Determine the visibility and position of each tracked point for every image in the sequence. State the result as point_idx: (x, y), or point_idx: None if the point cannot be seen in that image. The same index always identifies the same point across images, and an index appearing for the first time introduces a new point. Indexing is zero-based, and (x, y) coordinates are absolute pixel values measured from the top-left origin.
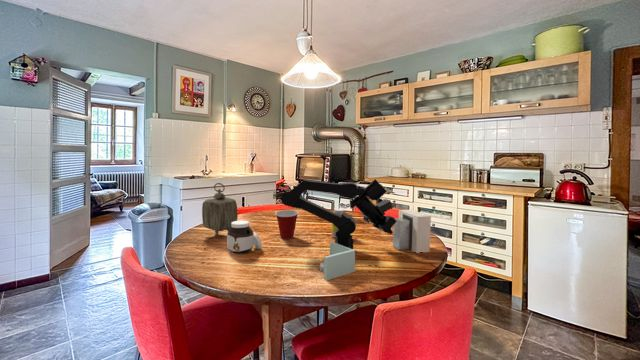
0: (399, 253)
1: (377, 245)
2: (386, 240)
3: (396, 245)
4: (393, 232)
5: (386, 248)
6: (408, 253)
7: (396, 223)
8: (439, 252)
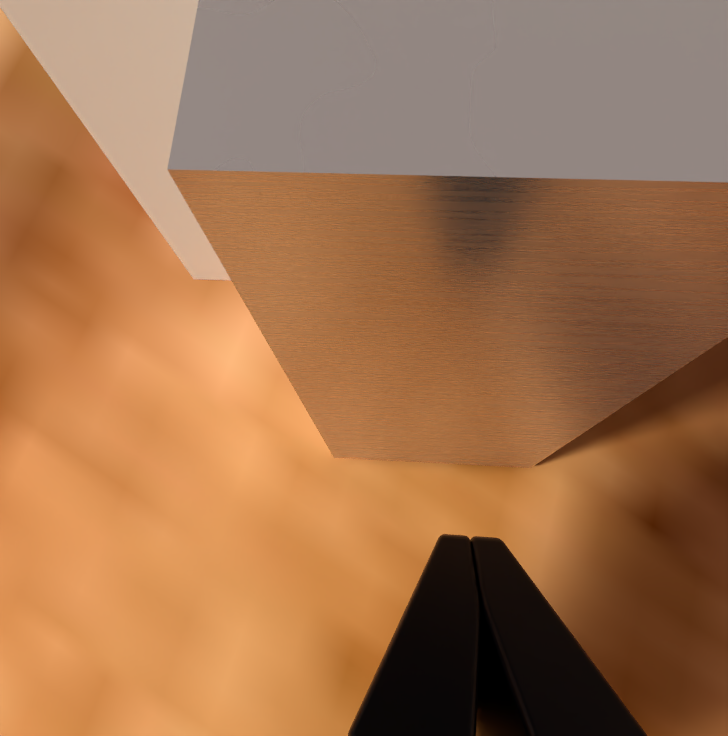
0: (660, 545)
1: (176, 679)
2: (17, 372)
3: (449, 455)
4: (306, 397)
5: (374, 612)
6: (682, 409)
7: (480, 289)
8: None
